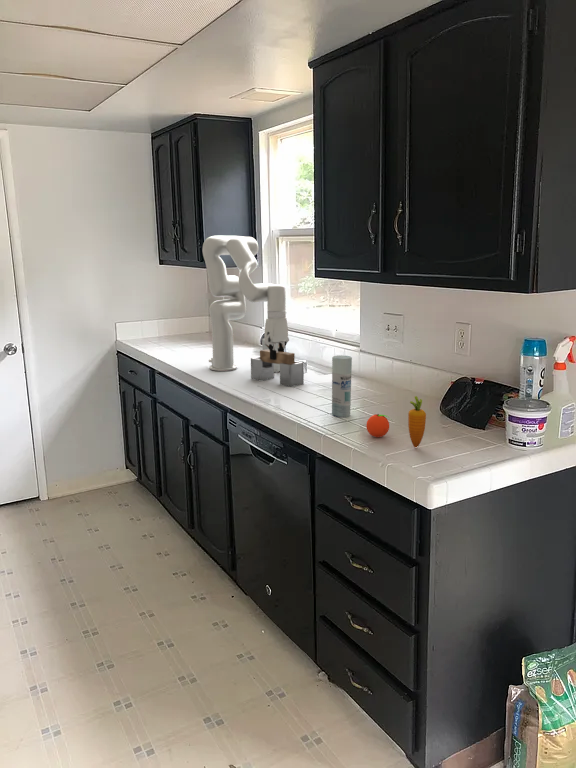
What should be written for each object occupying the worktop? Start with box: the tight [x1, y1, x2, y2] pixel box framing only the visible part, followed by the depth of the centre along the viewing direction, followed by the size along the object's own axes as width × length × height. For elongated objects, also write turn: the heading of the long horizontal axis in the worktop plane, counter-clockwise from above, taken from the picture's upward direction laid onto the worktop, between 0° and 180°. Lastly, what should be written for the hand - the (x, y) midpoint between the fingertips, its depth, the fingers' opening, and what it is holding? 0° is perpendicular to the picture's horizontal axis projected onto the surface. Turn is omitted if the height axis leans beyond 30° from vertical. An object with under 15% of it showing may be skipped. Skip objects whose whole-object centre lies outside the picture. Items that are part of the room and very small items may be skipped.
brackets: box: [250, 356, 305, 388], centre depth 272 cm, size 23×8×9 cm, turn 47°
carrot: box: [407, 396, 427, 448], centre depth 184 cm, size 5×5×15 cm
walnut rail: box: [259, 349, 296, 364], centre depth 270 cm, size 16×4×4 cm, turn 48°
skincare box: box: [261, 338, 280, 373], centre depth 293 cm, size 8×6×15 cm
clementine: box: [365, 413, 392, 438], centre depth 195 cm, size 8×7×7 cm
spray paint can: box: [331, 354, 353, 418], centre depth 218 cm, size 6×6×20 cm
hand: (277, 358), depth 270 cm, fingers closed on walnut rail, 4 cm apart
